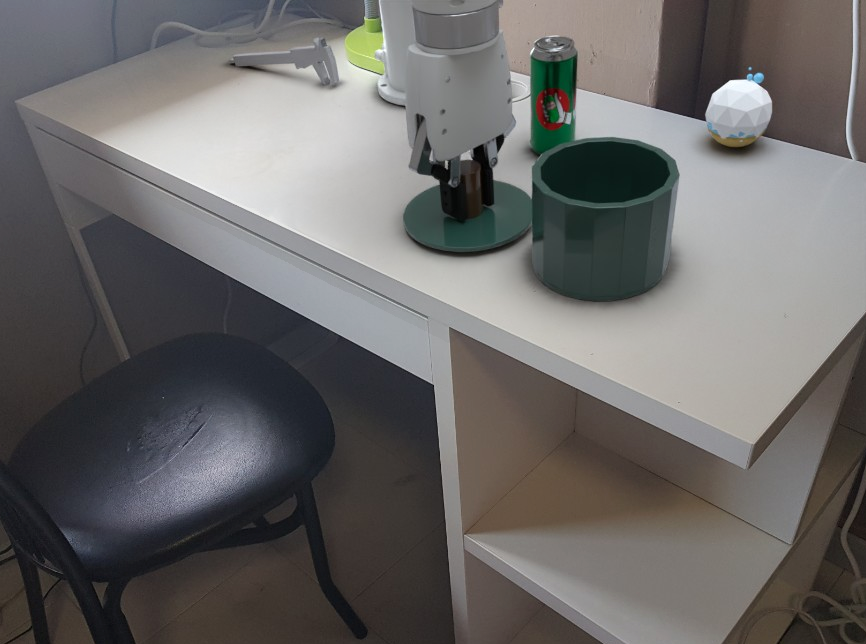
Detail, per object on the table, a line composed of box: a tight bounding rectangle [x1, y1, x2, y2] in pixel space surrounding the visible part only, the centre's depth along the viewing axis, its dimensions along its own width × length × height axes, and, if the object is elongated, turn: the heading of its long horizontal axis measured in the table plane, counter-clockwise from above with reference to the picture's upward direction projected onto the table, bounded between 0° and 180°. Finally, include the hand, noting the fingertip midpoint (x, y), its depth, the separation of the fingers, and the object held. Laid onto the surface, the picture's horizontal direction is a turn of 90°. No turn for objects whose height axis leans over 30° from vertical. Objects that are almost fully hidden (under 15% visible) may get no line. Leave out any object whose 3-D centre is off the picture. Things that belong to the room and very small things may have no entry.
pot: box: [531, 136, 680, 302], centre depth 77 cm, size 13×13×10 cm
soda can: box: [529, 35, 579, 156], centre depth 93 cm, size 5×5×12 cm
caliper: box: [228, 36, 340, 86], centre depth 118 cm, size 20×1×6 cm, turn 56°
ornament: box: [704, 66, 773, 148], centre depth 92 cm, size 7×7×8 cm
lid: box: [402, 159, 532, 253], centre depth 85 cm, size 14×14×6 cm
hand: (468, 207), depth 86 cm, fingers closed on lid, 3 cm apart
